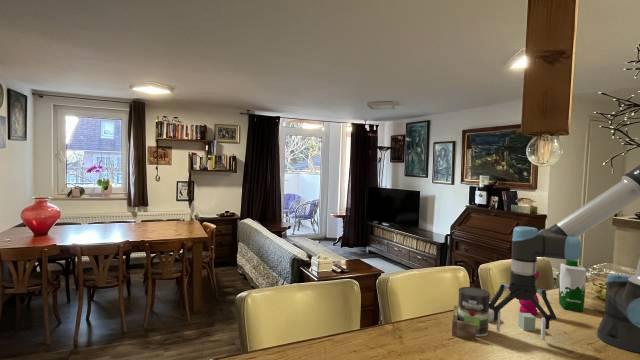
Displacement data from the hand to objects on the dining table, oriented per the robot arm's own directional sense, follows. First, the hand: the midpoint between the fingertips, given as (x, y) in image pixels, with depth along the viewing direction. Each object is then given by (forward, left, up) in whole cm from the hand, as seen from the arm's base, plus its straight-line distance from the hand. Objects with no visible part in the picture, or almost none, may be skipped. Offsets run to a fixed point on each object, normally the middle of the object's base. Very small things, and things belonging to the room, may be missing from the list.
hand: (520, 334), depth 125 cm
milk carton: (-24, -44, -2) cm, 50 cm away
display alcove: (+18, 0, -2) cm, 18 cm away
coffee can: (+15, 0, -2) cm, 15 cm away
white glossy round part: (+11, -14, -2) cm, 18 cm away
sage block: (-3, -11, -2) cm, 12 cm away
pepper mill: (-6, -29, -2) cm, 30 cm away
